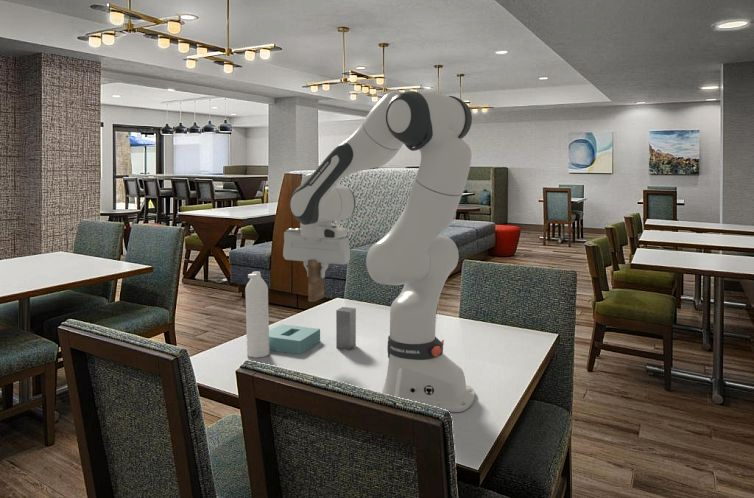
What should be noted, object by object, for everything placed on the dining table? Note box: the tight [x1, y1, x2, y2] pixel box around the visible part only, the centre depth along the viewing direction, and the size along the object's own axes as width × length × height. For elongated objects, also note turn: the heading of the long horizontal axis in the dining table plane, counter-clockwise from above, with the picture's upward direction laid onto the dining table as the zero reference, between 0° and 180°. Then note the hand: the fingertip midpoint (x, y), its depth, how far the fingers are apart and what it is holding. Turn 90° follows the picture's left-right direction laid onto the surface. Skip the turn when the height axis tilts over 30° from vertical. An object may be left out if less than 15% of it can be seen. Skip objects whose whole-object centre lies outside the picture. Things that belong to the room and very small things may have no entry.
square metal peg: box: [335, 306, 357, 351], centre depth 166 cm, size 4×4×12 cm
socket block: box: [269, 323, 321, 355], centre depth 168 cm, size 14×13×4 cm
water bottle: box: [244, 270, 271, 359], centre depth 156 cm, size 9×6×25 cm
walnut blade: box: [307, 260, 325, 303], centre depth 156 cm, size 2×6×12 cm, turn 159°
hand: (316, 277), depth 156 cm, fingers closed on walnut blade, 2 cm apart
